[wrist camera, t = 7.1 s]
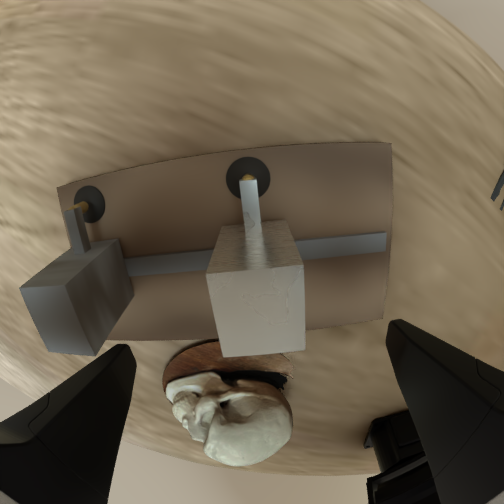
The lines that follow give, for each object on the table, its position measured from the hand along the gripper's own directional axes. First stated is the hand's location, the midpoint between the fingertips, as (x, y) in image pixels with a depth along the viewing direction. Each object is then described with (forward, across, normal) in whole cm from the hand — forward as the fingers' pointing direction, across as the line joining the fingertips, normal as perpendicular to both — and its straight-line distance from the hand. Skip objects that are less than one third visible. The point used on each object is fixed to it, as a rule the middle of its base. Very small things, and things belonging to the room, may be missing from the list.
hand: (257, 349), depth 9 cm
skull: (+10, +4, +13) cm, 17 cm away
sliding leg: (+8, 0, -1) cm, 8 cm away
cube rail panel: (+10, +2, 0) cm, 10 cm away
